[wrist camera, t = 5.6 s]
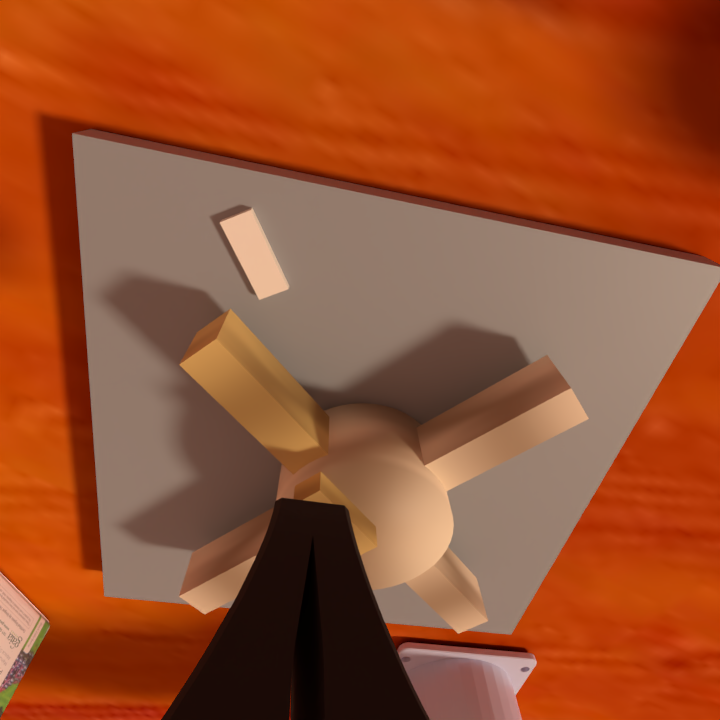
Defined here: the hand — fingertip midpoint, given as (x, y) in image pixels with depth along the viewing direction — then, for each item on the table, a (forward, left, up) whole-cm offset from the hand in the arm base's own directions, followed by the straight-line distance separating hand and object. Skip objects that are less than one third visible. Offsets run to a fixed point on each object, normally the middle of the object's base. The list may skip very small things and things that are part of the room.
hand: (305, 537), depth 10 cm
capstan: (-5, -2, -8) cm, 10 cm away
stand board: (-5, -2, -9) cm, 11 cm away
